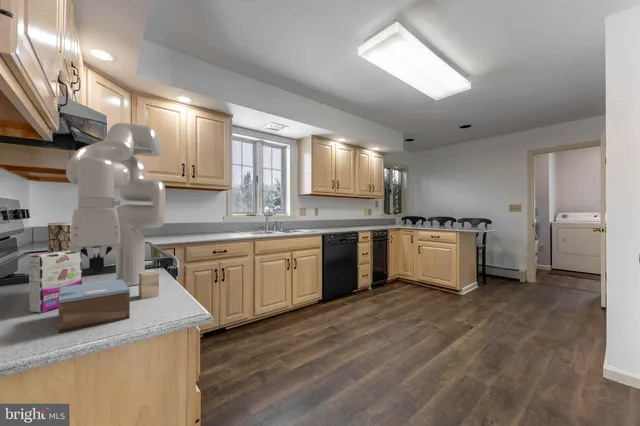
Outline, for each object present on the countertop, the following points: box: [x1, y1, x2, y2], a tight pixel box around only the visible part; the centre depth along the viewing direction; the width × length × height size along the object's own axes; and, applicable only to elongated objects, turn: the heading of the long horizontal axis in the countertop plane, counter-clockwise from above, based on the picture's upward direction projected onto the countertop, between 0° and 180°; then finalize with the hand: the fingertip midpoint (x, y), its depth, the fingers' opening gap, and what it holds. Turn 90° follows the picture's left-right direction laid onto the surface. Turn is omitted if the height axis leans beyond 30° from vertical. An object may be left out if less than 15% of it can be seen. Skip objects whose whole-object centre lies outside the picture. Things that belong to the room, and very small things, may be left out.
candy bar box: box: [28, 250, 83, 314], centre depth 82 cm, size 11×5×16 cm, turn 168°
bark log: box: [47, 222, 72, 253], centre depth 89 cm, size 7×7×25 cm
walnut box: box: [58, 291, 131, 334], centre depth 75 cm, size 15×14×7 cm
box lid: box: [59, 279, 131, 303], centre depth 75 cm, size 15×14×1 cm
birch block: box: [138, 270, 160, 300], centre depth 94 cm, size 5×5×8 cm
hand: (96, 271), depth 74 cm, fingers closed
